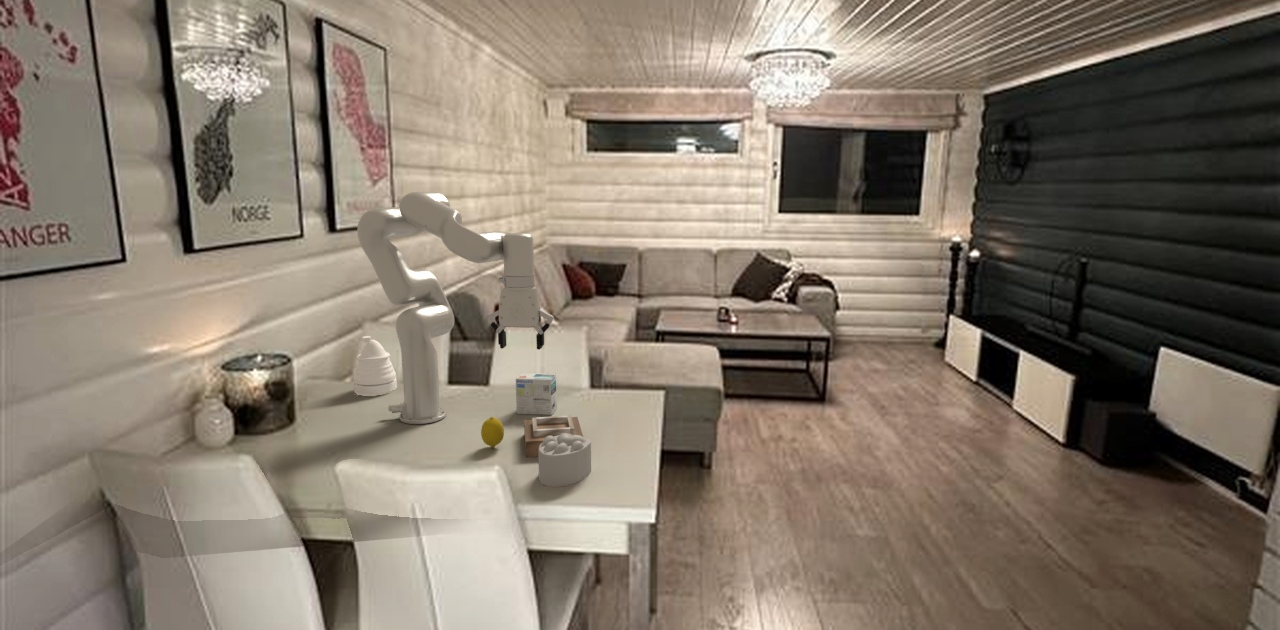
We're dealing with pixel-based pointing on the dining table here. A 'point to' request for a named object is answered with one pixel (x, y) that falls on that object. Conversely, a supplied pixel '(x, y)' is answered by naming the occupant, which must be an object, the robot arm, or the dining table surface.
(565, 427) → the walnut plinth
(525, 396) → the light bulb box
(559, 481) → the lumpy-topped squat cylinder
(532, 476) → the dining table surface
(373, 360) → the honey pot
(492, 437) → the lemon
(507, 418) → the dining table surface
